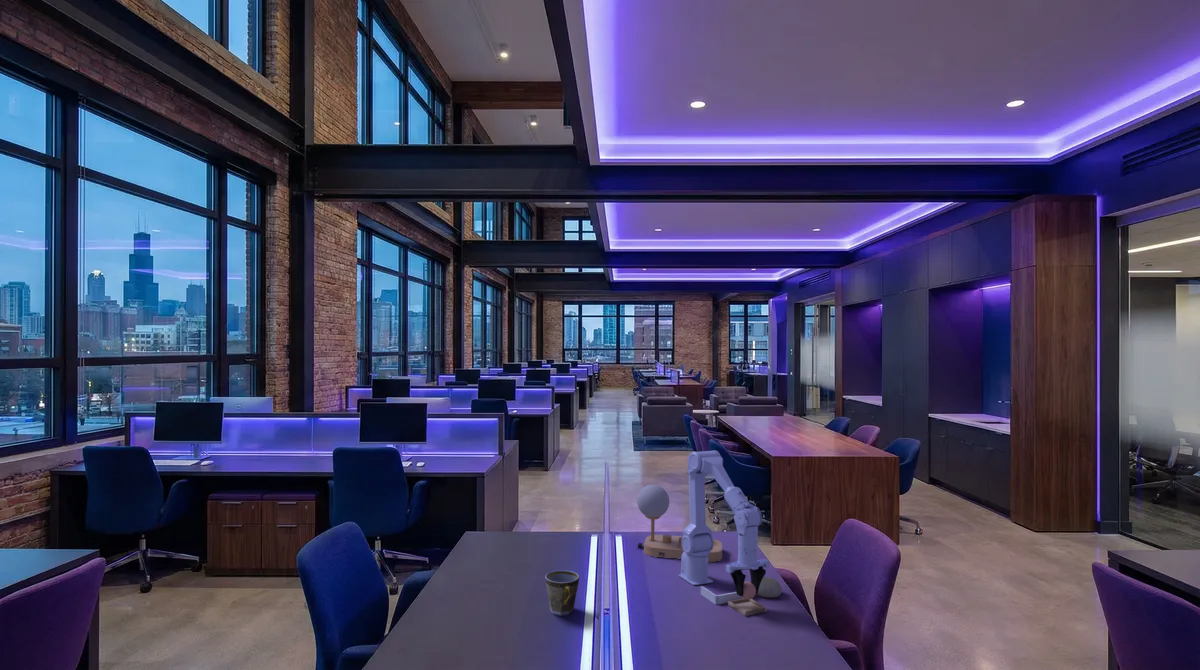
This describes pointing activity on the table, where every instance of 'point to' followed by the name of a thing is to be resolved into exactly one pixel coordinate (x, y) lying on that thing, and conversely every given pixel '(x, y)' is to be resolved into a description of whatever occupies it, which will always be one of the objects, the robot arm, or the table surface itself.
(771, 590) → the sea urchin shell
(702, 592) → the white u-shaped arch
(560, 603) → the ceramic cup
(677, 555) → the lamp
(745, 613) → the tray
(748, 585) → the ball
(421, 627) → the table surface
